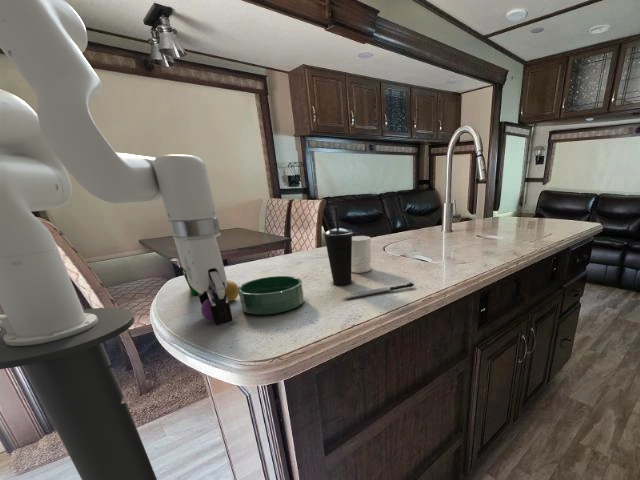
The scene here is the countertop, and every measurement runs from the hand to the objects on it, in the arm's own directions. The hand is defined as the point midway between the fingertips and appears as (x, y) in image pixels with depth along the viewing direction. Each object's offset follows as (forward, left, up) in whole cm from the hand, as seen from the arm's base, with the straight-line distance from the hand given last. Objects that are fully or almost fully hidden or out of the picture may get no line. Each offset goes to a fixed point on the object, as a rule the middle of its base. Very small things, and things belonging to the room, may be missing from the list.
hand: (217, 316), depth 64 cm
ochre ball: (-1, +12, +2) cm, 12 cm away
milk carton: (-9, +23, -1) cm, 25 cm away
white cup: (+32, +31, -1) cm, 45 cm away
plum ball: (0, 0, +2) cm, 2 cm away
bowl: (+10, +6, -1) cm, 12 cm away
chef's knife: (+34, +9, -1) cm, 36 cm away
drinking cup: (+26, +19, -1) cm, 32 cm away
